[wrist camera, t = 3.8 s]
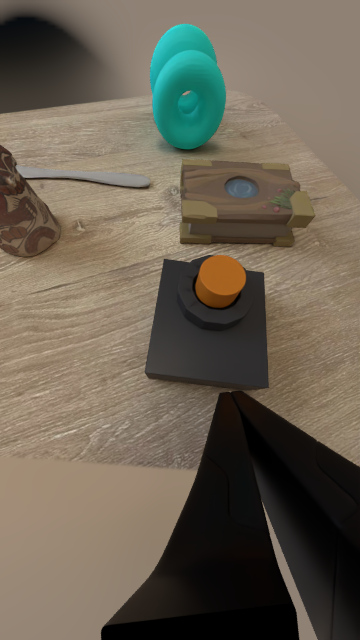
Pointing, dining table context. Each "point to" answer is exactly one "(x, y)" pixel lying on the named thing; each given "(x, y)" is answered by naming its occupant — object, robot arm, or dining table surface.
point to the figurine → (22, 213)
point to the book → (241, 203)
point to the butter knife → (87, 176)
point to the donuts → (186, 87)
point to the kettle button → (220, 281)
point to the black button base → (208, 332)
